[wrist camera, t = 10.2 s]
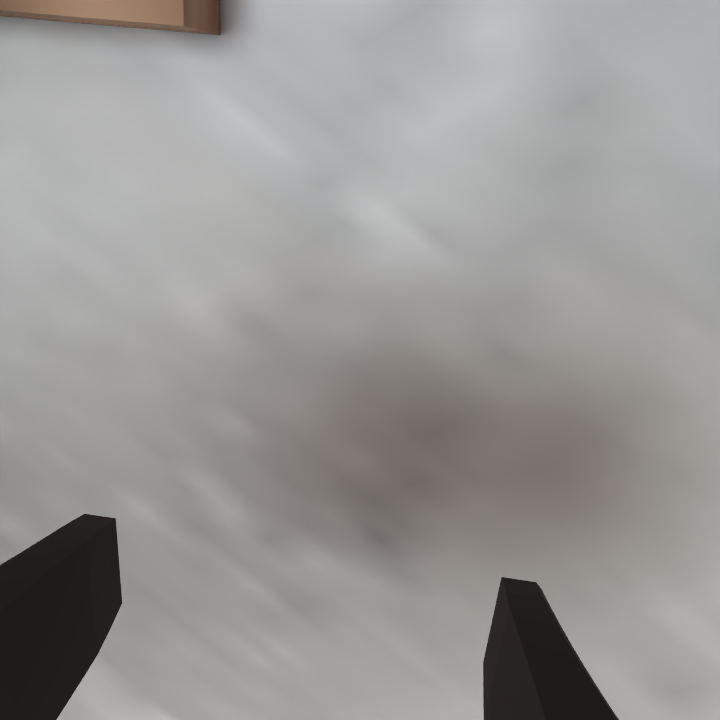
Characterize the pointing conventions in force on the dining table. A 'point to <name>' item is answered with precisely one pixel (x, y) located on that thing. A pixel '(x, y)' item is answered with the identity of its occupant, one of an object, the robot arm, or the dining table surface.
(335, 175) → the dining table surface
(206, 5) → the socket block
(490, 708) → the robot arm
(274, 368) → the dining table surface
